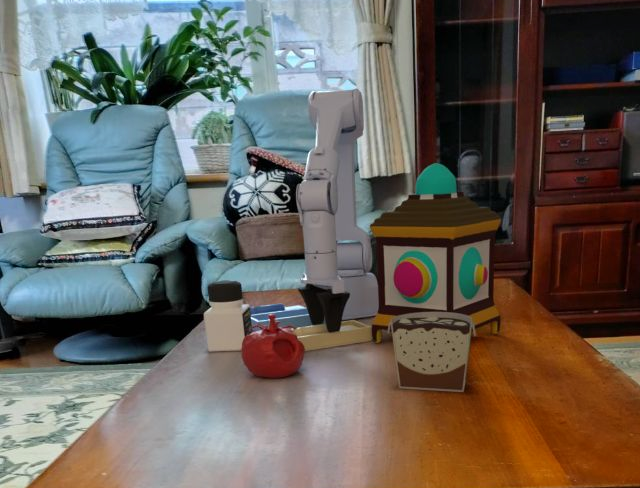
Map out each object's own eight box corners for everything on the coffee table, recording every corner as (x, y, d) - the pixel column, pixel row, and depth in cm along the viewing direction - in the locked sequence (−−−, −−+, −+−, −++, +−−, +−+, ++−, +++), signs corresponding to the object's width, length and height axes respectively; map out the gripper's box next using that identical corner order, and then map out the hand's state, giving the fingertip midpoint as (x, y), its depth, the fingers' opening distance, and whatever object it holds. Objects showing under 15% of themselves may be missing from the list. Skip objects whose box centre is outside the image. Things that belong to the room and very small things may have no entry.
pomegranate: (232, 380, 105) (225, 320, 102) (262, 363, 114) (256, 308, 110) (289, 384, 102) (284, 322, 98) (316, 366, 110) (312, 309, 107)
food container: (482, 380, 99) (483, 312, 96) (474, 392, 94) (475, 321, 90) (400, 375, 103) (399, 310, 100) (389, 387, 98) (387, 318, 94)
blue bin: (314, 318, 147) (314, 306, 146) (328, 324, 140) (328, 312, 140) (247, 328, 141) (245, 315, 140) (258, 334, 135) (257, 321, 134)
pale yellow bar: (352, 334, 130) (351, 318, 129) (360, 337, 127) (359, 321, 126) (292, 343, 125) (290, 326, 124) (299, 347, 122) (297, 330, 121)
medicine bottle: (247, 350, 123) (239, 283, 118) (207, 352, 123) (199, 285, 119) (253, 341, 129) (247, 277, 125) (216, 342, 129) (208, 279, 125)
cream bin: (354, 333, 132) (353, 319, 131) (372, 340, 126) (371, 326, 125) (280, 344, 126) (279, 330, 125) (295, 352, 120) (294, 338, 119)
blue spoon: (300, 313, 154) (298, 299, 153) (305, 315, 151) (304, 301, 149) (247, 320, 149) (246, 306, 148) (252, 322, 146) (251, 308, 145)
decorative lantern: (456, 357, 112) (458, 161, 101) (360, 344, 123) (352, 167, 113) (510, 332, 127) (516, 159, 116) (420, 323, 138) (418, 164, 127)
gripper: (285, 250, 125) (291, 323, 130) (315, 257, 112) (320, 338, 117) (320, 247, 127) (325, 319, 132) (353, 253, 115) (357, 332, 120)
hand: (325, 327), depth 125 cm, fingers open, 7 cm apart
